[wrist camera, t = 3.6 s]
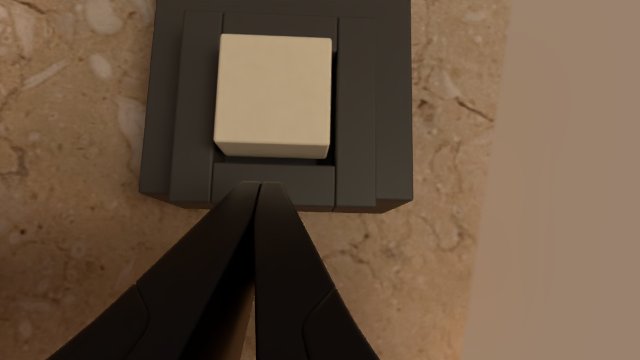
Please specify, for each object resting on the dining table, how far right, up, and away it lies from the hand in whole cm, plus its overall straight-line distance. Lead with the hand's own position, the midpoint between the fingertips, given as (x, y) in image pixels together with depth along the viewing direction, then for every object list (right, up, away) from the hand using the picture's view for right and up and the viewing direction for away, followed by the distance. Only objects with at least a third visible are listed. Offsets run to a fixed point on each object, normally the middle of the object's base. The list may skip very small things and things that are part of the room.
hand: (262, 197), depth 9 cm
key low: (0, +3, +4) cm, 5 cm away
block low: (0, +5, +11) cm, 12 cm away
